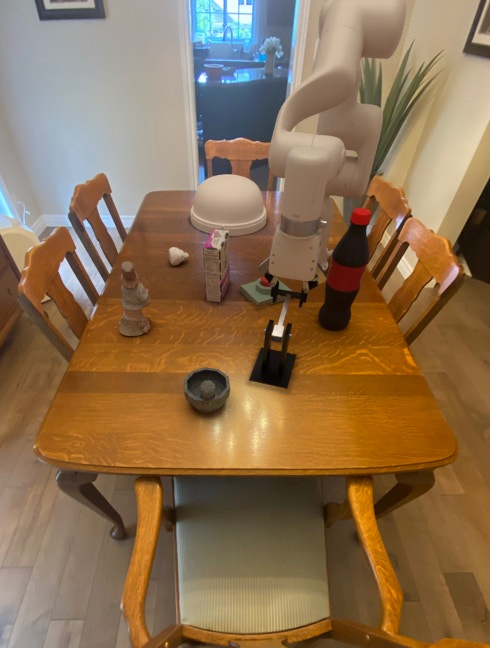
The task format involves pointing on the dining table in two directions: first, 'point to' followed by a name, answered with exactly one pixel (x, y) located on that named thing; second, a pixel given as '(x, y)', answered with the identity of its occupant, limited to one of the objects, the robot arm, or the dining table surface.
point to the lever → (283, 314)
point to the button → (265, 282)
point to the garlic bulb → (177, 256)
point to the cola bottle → (346, 273)
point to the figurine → (133, 302)
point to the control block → (261, 292)
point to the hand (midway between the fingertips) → (288, 301)
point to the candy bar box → (216, 265)
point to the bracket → (274, 360)
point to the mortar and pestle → (206, 389)
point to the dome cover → (228, 205)
